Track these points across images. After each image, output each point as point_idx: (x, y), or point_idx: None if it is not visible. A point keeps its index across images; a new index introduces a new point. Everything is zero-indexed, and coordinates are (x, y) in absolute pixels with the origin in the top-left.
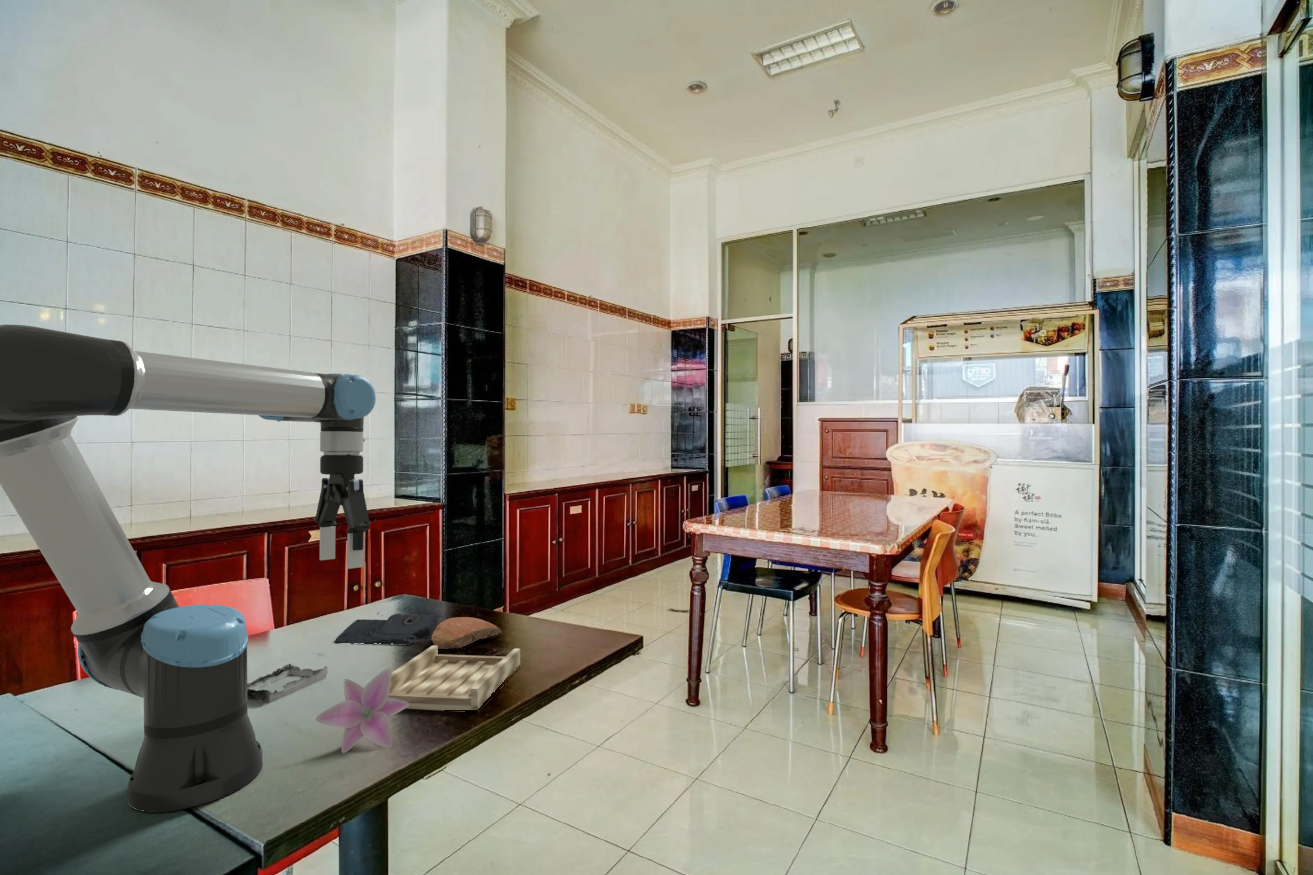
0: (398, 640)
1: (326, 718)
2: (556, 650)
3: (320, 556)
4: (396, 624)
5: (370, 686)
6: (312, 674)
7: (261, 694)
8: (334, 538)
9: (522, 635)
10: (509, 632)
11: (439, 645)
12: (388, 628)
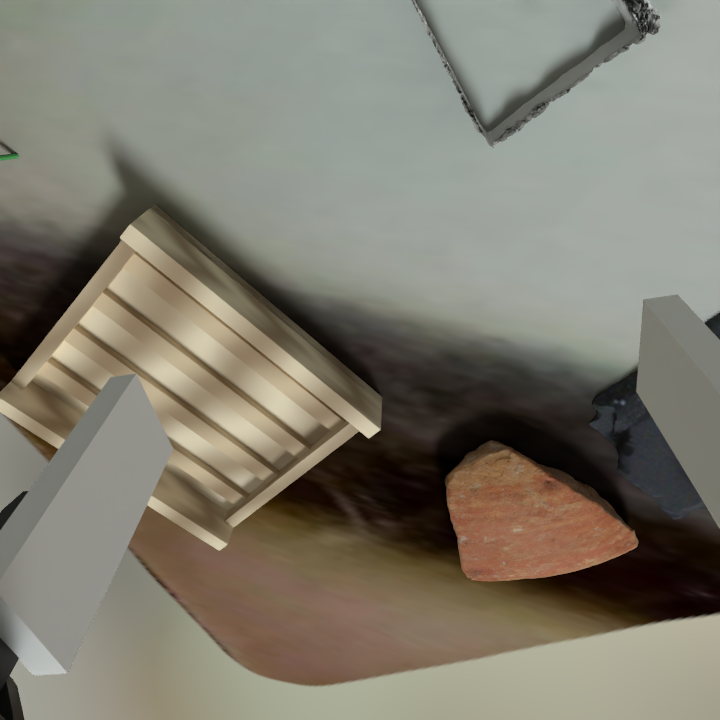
0: (635, 387)
1: None
2: (292, 593)
3: (665, 312)
4: None
5: None
6: (459, 88)
7: None
8: (710, 506)
9: (441, 591)
10: (486, 584)
11: (482, 449)
12: None
